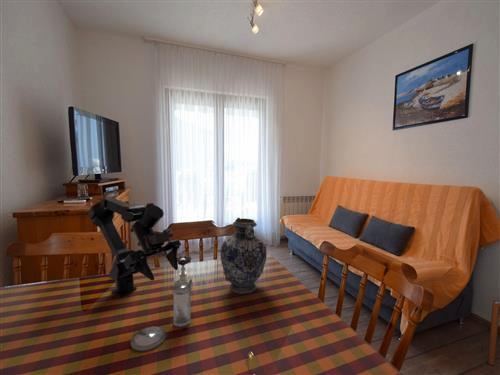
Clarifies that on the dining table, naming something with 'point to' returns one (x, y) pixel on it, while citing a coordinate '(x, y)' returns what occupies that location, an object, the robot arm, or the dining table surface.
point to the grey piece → (181, 304)
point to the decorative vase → (243, 257)
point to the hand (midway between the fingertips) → (165, 274)
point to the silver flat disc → (148, 338)
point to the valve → (183, 271)
